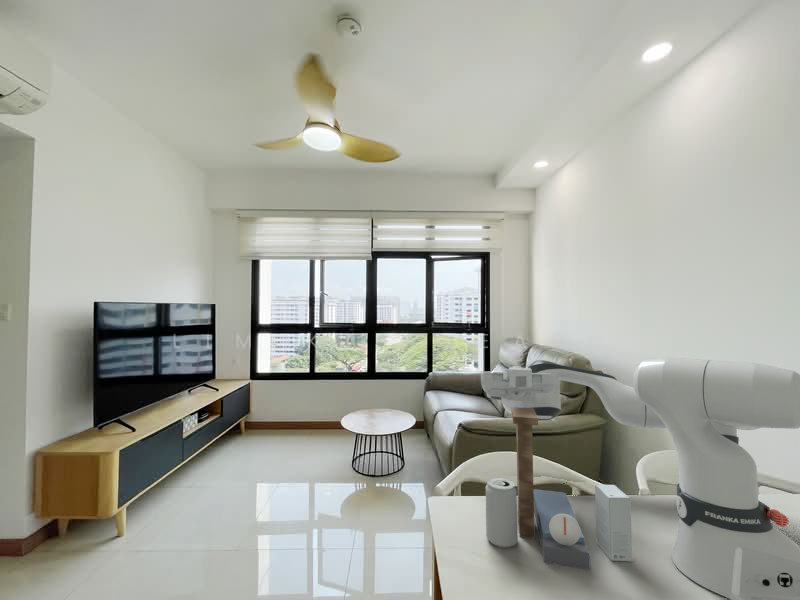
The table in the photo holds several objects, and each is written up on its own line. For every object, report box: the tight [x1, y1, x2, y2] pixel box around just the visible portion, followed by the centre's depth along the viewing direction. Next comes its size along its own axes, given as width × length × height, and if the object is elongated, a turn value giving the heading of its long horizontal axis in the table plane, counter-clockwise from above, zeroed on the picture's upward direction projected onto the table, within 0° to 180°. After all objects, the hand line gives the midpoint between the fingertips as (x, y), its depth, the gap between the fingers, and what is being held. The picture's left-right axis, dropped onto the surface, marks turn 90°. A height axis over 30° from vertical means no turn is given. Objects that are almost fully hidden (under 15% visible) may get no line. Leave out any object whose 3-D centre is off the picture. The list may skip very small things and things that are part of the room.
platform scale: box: [533, 488, 591, 571], centre depth 79 cm, size 8×22×9 cm, turn 165°
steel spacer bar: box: [508, 365, 532, 387], centre depth 94 cm, size 5×18×4 cm, turn 165°
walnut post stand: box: [511, 407, 539, 539], centre depth 79 cm, size 5×9×26 cm, turn 165°
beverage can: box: [485, 476, 519, 549], centre depth 76 cm, size 6×6×12 cm
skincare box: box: [594, 483, 633, 562], centre depth 72 cm, size 6×4×12 cm
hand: (517, 371), depth 98 cm, fingers closed on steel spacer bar, 2 cm apart
